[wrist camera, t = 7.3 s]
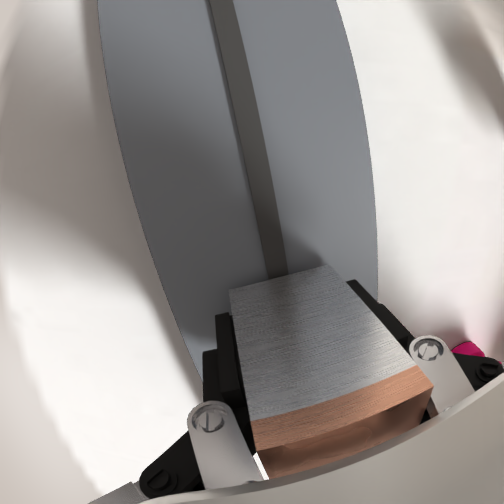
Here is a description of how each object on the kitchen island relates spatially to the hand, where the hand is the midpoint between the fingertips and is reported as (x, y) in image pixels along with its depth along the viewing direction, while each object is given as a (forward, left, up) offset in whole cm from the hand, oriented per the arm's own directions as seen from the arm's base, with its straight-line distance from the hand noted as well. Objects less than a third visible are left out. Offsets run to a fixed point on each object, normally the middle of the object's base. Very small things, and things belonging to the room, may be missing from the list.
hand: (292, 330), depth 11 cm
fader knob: (0, 0, -1) cm, 1 cm away
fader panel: (0, -4, -3) cm, 5 cm away
